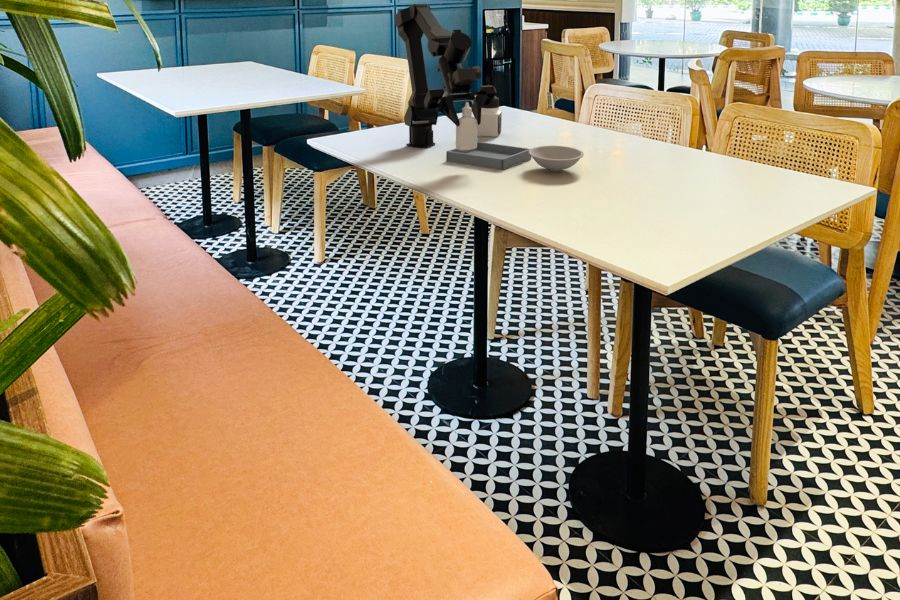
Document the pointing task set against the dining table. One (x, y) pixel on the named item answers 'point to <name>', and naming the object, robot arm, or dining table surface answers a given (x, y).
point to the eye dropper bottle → (466, 130)
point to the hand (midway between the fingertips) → (469, 124)
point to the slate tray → (490, 156)
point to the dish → (556, 157)
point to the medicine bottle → (490, 120)
